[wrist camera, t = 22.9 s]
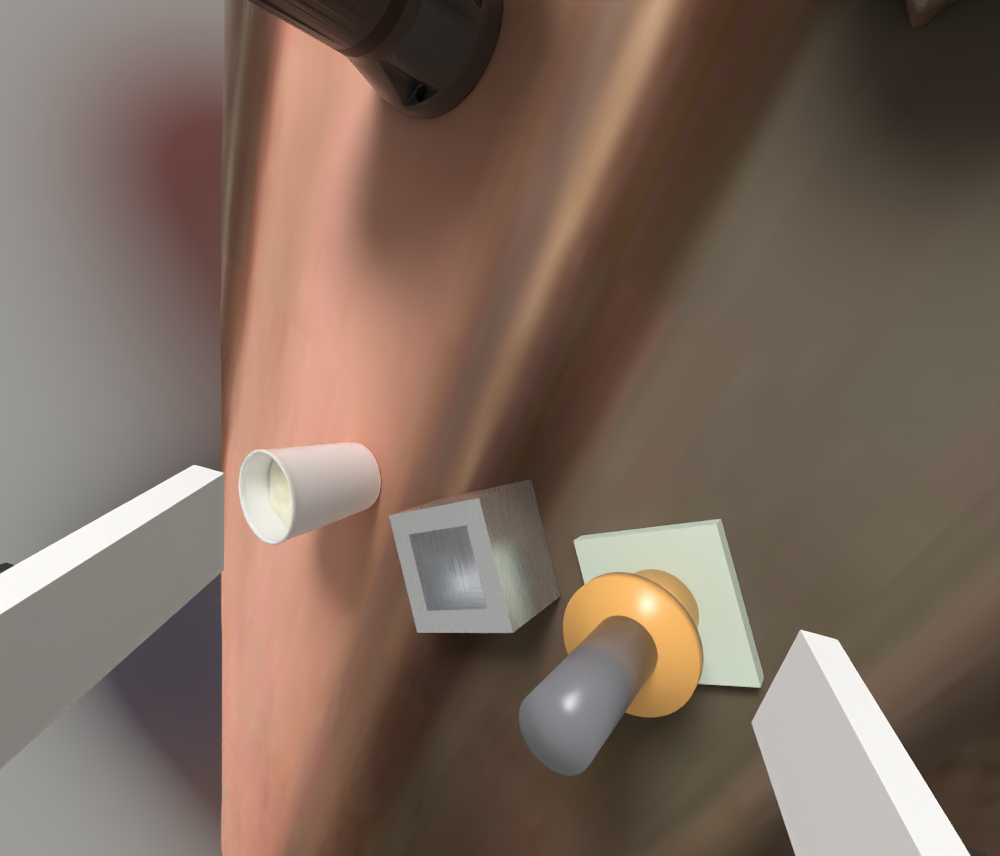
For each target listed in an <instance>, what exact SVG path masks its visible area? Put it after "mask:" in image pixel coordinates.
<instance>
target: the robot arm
mask: <svg viewBox="0 0 1000 856" xmlns="http://www.w3.org/2000/svg"><path fill="white" fill-rule="evenodd" d="M248 1H250V2H252V3H254V4H255V5H257V6H259V7H261V8H262V9H264V10H266V11H268V12H269V13H271V14H273V15H275V16H277V17H278V18H280V19H282V20H284V21H285V22H287V23H289V24H291V25H292V26H294V27H296V28H298V29H299V30H301V31H303V32H305V33H306V34H308V35H310V36H312V37H313V38H315V39H317V40H319V41H321V42H322V43H324V44H326V45H328V46H329V47H331V48H333V49H335V50H336V51H338V52H340V53H342V54H343V55H345V56H346V57H347V58H348V59H349V60H350V61H351V62H352V63H353V65H354V66H355V67H356V68H357V69H358V70H359V72H360V73H361V74H362V75H363V76H364V77H365V79H366V80H367V81H368V82H369V83H370V84H371V86H372V87H373V88H374V89H375V90H376V92H377V93H378V94H379V95H380V96H381V97H382V98H383V99H384V100H385V101H386V102H387V103H389V104H390V105H391V106H393V107H395V108H397V109H398V110H400V111H402V112H404V113H406V114H408V115H410V116H412V117H416V118H432V117H436V116H439V115H441V114H444V113H445V112H447V111H449V110H450V109H452V108H453V107H455V106H456V105H457V104H458V103H460V102H461V101H462V100H463V99H464V98H465V97H466V96H467V94H468V93H469V92H470V91H471V90H472V88H473V87H474V86H475V84H476V83H477V81H478V80H479V78H480V77H481V75H482V73H483V72H484V70H485V68H486V66H487V64H488V62H489V59H490V57H491V55H492V52H493V49H494V46H495V43H496V40H497V37H498V33H499V28H500V23H501V17H502V6H503V0H248ZM223 570H224V473H222V472H218V471H215V470H211V469H207V468H204V467H200V466H196V465H193V466H191V467H189V468H188V469H186V470H184V471H182V472H180V473H179V474H177V475H175V476H173V477H172V478H170V479H168V480H166V481H165V482H163V483H161V484H159V485H157V486H156V487H154V488H152V489H150V490H148V491H147V492H145V493H143V494H141V495H140V496H138V497H136V498H134V499H132V500H131V501H129V502H127V503H125V504H123V505H122V506H120V507H118V508H117V509H114V510H113V511H111V512H109V513H107V514H106V515H104V516H102V517H100V518H98V519H97V520H95V521H93V522H92V523H90V524H88V525H86V526H84V527H82V528H81V529H79V530H77V531H75V532H74V533H72V534H70V535H68V536H66V537H65V538H63V539H61V540H59V541H57V542H56V543H54V544H52V545H50V546H49V547H47V548H45V549H43V550H42V551H40V552H38V553H36V554H34V555H33V556H31V557H29V558H27V559H25V560H24V561H22V562H20V563H18V564H17V565H12V564H9V563H4V564H1V565H0V769H1V768H2V767H3V766H4V765H6V764H7V763H8V762H9V761H10V760H11V759H12V758H13V757H14V756H16V755H17V754H18V753H19V752H20V751H21V750H22V749H23V748H25V747H26V746H27V745H28V744H29V743H30V742H31V741H32V740H34V739H35V738H36V737H37V736H38V735H39V734H40V733H41V732H43V731H44V730H45V729H46V728H47V727H48V726H49V725H50V724H52V723H53V722H54V721H55V720H56V719H57V718H58V717H59V716H60V715H62V714H63V713H64V712H65V711H66V710H67V709H68V708H69V707H71V706H72V705H73V704H74V703H75V702H76V701H77V700H78V699H80V698H81V697H82V696H83V695H84V694H85V693H86V692H87V691H88V690H90V688H92V687H93V686H94V685H95V684H96V683H97V682H99V681H100V680H101V679H102V678H103V677H104V676H105V675H106V674H108V673H109V672H110V671H111V670H112V669H113V668H114V667H115V666H117V665H118V664H119V663H120V662H121V661H122V660H123V659H124V658H126V657H127V656H128V655H129V654H130V653H131V652H132V651H133V650H134V649H136V648H137V647H138V646H139V645H140V644H141V643H142V642H143V641H145V640H146V639H147V638H148V637H149V636H150V635H151V634H152V633H154V632H155V631H156V630H157V629H158V628H159V627H160V626H161V625H163V624H164V623H165V622H166V621H167V620H168V619H169V618H170V617H171V616H173V615H174V614H175V613H176V612H177V611H178V610H179V609H180V608H181V607H183V606H184V605H185V604H186V603H187V602H188V601H189V600H191V599H192V598H193V597H194V596H195V595H196V594H197V593H198V592H199V591H201V590H202V589H203V588H204V587H205V586H206V585H207V584H208V583H209V582H211V581H212V580H213V579H214V578H215V577H216V576H217V575H219V574H220V573H221V572H222V571H223ZM751 723H752V726H753V729H754V732H755V735H756V738H757V741H758V744H759V747H760V750H761V753H762V756H763V759H764V762H765V765H766V768H767V771H768V774H769V777H770V780H771V783H772V786H773V789H774V792H775V795H776V798H777V801H778V804H779V807H780V810H781V813H782V816H783V819H784V822H785V825H786V828H787V831H788V834H789V837H790V840H791V843H792V846H793V849H794V852H795V855H796V856H988V855H987V854H986V853H983V852H980V851H977V850H973V849H970V848H967V847H965V846H964V844H963V843H962V841H961V839H960V838H959V836H958V835H957V833H956V831H955V830H954V828H953V826H952V825H951V823H950V822H949V820H948V818H947V817H946V815H945V813H944V812H943V810H942V809H941V807H940V805H939V804H938V802H937V800H936V799H935V797H934V796H933V794H932V792H931V791H930V789H929V787H928V786H927V784H926V783H925V781H924V779H923V778H922V776H921V774H920V773H919V771H918V770H917V768H916V766H915V765H914V763H913V762H912V760H911V758H910V757H909V755H908V753H907V752H906V750H905V749H904V747H903V745H902V744H901V742H900V740H899V739H898V737H897V736H896V734H895V732H894V731H893V729H892V727H891V726H890V724H889V723H888V721H887V719H886V718H885V716H884V714H883V713H882V711H881V710H880V708H879V706H878V705H877V703H876V701H875V700H874V698H873V697H872V695H871V693H870V692H869V690H868V688H867V687H866V685H865V684H864V682H863V680H862V679H861V677H860V675H859V674H858V672H857V671H856V669H855V667H854V666H853V664H852V663H851V661H850V659H849V658H848V656H847V654H846V653H845V651H844V650H843V648H842V646H841V645H840V643H839V641H838V640H836V639H833V638H829V637H825V636H822V635H818V634H814V633H811V632H807V631H803V630H800V631H799V633H798V635H797V637H796V639H795V641H794V643H793V645H792V646H791V648H790V650H789V652H788V654H787V656H786V658H785V660H784V662H783V664H782V665H781V667H780V669H779V671H778V673H777V675H776V677H775V679H774V681H773V683H772V684H771V686H770V688H769V690H768V692H767V694H766V696H765V698H764V700H763V702H762V703H761V705H760V707H759V709H758V711H757V713H756V715H755V717H754V719H753V721H752V722H751Z"/></svg>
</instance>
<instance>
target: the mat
mask: <svg viewBox="0 0 1000 856" xmlns="http://www.w3.org/2000/svg"><path fill="white" fill-rule="evenodd" d="M574 545H575V548H576V552H577V556H578V560H579V564H580V568H581V572H582V576H583V579H584V583H585V584H586V583H587V582H589V581H590V580H592V579H593V578H595V577H597V576H599V575H603V574H606V573H612V572H626V573H632V574H634V573H636V572H638V571H641V570H646V569H656V570H661V571H665V572H667V573H670V574H672V575H673V576H675V577H677V578H678V579H679V580H681V581H682V582H683V583H684V584H685V585H686V586H687V587H688V589H689V590H690V591H691V593H692V594H693V596H694V598H695V600H696V602H697V605H698V610H699V624H698V628H697V630H698V632H699V635H700V638H701V642H702V647H703V656H704V662H703V670H702V674H701V677H700V680H699V682H698V684H708V685H725V686H742V687H759V688H761V685H762V682H763V679H764V675H763V672H762V668H761V664H760V661H759V657H758V653H757V650H756V646H755V642H754V639H753V635H752V631H751V628H750V624H749V620H748V617H747V613H746V609H745V605H744V602H743V598H742V594H741V591H740V587H739V583H738V580H737V576H736V572H735V569H734V565H733V561H732V558H731V554H730V550H729V547H728V543H727V539H726V536H725V532H724V528H723V524H722V521H721V519H716V520H707V521H699V522H691V523H683V524H674V525H666V526H658V527H650V528H641V529H633V530H625V531H617V532H608V533H600V534H592V535H584V536H580V537H578V538H577V539H575V540H574Z"/></svg>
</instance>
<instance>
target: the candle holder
mask: <svg viewBox="0 0 1000 856" xmlns="http://www.w3.org/2000/svg"><path fill="white" fill-rule="evenodd" d="M380 489H381V475H380V470H379V466H378V463H377V461H376V459H375V457H374V455H373V454H372V453H371V451H370V450H369V449H368V448H367V447H365V446H364V445H362V444H360V443H357V442H343V443H331V444H320V445H309V446H298V447H288V448H277V449H258V450H255V451H253V452H251V453H250V454H249V455H248V456H247V457H246V458H245V460H244V462H243V464H242V466H241V470H240V475H239V497H240V503H241V507H242V510H243V513H244V516H245V518H246V521H247V523H248V525H249V526H250V528H251V530H252V531H253V532H254V534H255V535H256V536H257V537H258V538H259V539H260V540H262V541H263V542H265V543H267V544H271V545H276V544H280V543H283V542H284V541H286V540H289V539H291V538H294V537H297V536H299V535H302V534H304V533H307V532H310V531H312V530H315V529H318V528H320V527H323V526H326V525H328V524H331V523H333V522H336V521H339V520H341V519H344V518H346V517H349V516H352V515H354V514H357V513H359V512H362V511H364V510H366V509H368V508H370V507H371V506H372V505H373V504H374V503H375V502H376V500H377V499H378V496H379V493H380Z"/></svg>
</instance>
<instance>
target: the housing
mask: <svg viewBox="0 0 1000 856" xmlns="http://www.w3.org/2000/svg"><path fill="white" fill-rule="evenodd" d="M389 518H390V522H391V526H392V531H393V535H394V539H395V543H396V547H397V551H398V555H399V559H400V563H401V568H402V572H403V576H404V580H405V584H406V588H407V592H408V596H409V601H410V605H411V609H412V613H413V617H414V621H415V625H416V629H417V633H514V632H515V631H516V630H517V629H519V628H520V627H521V626H523V625H524V624H525V623H526V622H528V621H529V620H530V619H532V618H533V617H534V616H535V615H537V614H538V613H539V612H541V611H542V610H543V609H544V608H546V607H547V606H548V605H550V604H551V603H552V602H553V601H555V600H556V599H557V598H559V597H560V596H561V594H560V590H559V586H558V582H557V579H556V575H555V571H554V567H553V563H552V559H551V555H550V551H549V547H548V543H547V539H546V536H545V532H544V528H543V524H542V520H541V516H540V512H539V508H538V504H537V500H536V497H535V493H534V489H533V485H532V481H531V479H530V480H526V481H521V482H516V483H511V484H506V485H501V486H497V487H492V488H487V489H482V490H477V491H472V492H467V493H463V494H458V495H453V496H448V497H444V498H441V499H438V500H435V501H432V502H429V503H426V504H423V505H420V506H417V507H414V508H411V509H408V510H405V511H402V512H398V513H395V514H392V515H389Z"/></svg>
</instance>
